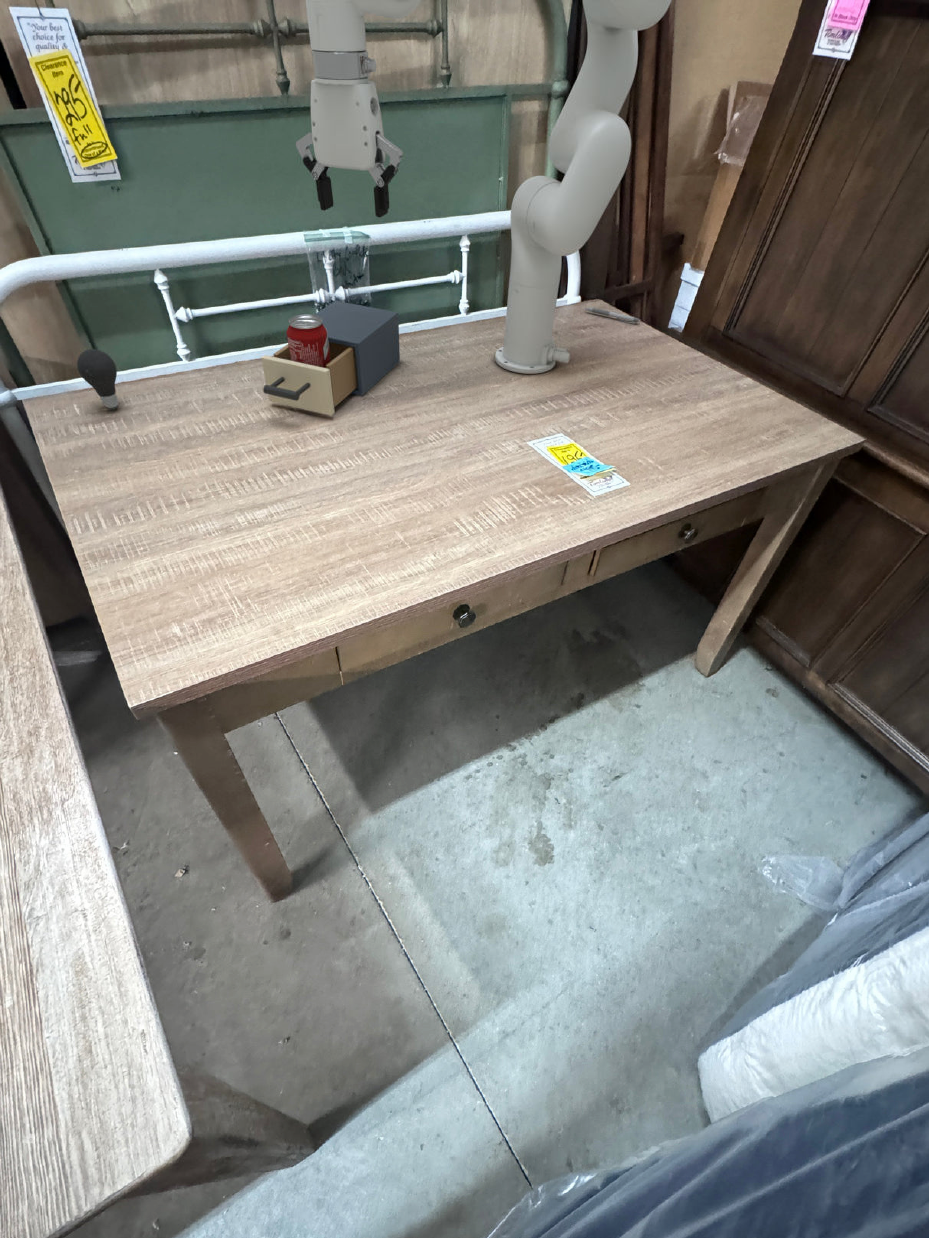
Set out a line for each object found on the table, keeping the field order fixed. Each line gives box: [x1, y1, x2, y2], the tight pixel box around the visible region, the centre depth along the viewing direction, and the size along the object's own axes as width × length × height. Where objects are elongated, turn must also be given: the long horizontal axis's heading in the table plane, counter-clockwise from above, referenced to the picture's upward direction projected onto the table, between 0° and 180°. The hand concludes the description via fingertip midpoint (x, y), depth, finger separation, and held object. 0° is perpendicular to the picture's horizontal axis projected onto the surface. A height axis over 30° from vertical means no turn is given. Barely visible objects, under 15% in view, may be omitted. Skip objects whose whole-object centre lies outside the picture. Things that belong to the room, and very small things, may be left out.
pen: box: [584, 306, 641, 325], centre depth 147 cm, size 1×14×1 cm, turn 62°
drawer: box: [260, 342, 358, 417], centre depth 108 cm, size 21×12×8 cm, turn 160°
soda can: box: [286, 314, 331, 368], centre depth 106 cm, size 7×7×12 cm
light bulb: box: [76, 348, 120, 410], centre depth 103 cm, size 6×6×10 cm
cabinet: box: [313, 300, 401, 397], centre depth 117 cm, size 17×14×10 cm
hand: (354, 211), depth 98 cm, fingers open, 9 cm apart
